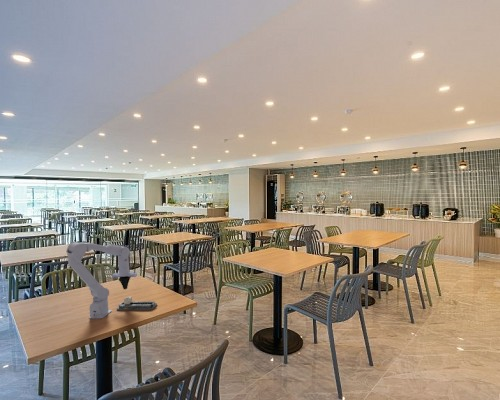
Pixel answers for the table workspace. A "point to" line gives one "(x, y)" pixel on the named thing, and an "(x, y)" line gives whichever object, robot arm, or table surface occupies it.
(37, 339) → the table surface
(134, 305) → the console
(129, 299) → the fader knob
